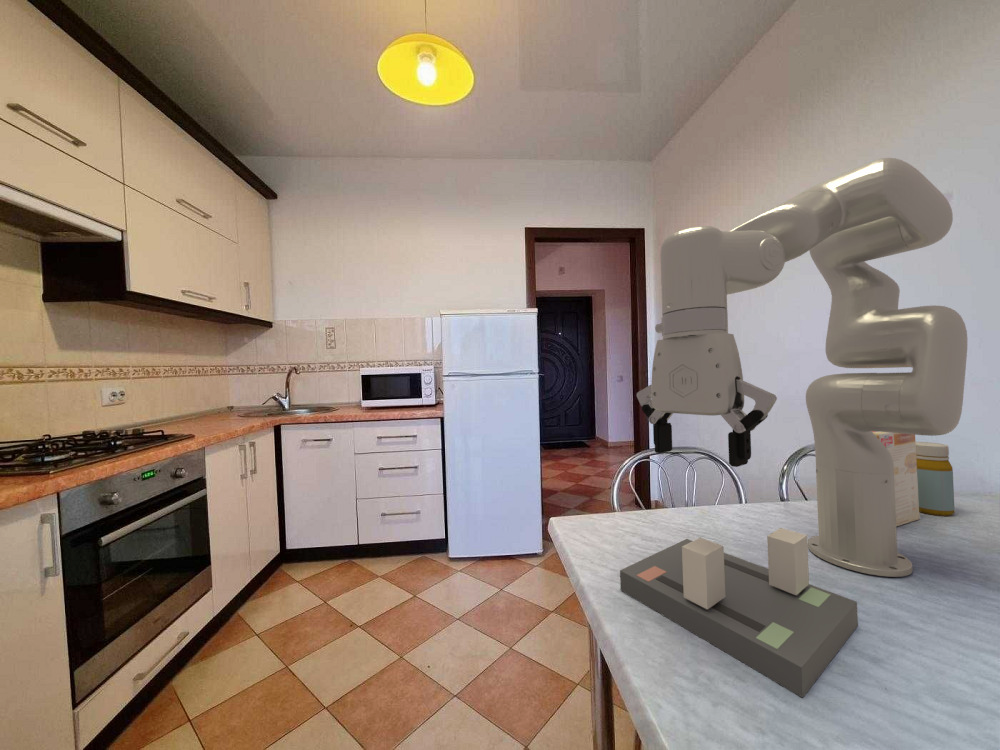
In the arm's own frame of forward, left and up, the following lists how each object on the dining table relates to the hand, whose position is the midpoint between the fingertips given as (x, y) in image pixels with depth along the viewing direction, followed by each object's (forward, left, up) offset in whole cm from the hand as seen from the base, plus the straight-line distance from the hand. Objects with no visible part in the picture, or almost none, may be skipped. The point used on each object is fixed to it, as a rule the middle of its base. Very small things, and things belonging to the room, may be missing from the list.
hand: (697, 457), depth 46 cm
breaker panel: (-6, 0, -22) cm, 22 cm away
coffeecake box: (-62, +4, -22) cm, 66 cm away
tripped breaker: (0, 0, -18) cm, 18 cm away
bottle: (-77, +9, -22) cm, 81 cm away
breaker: (-12, +5, -18) cm, 22 cm away
